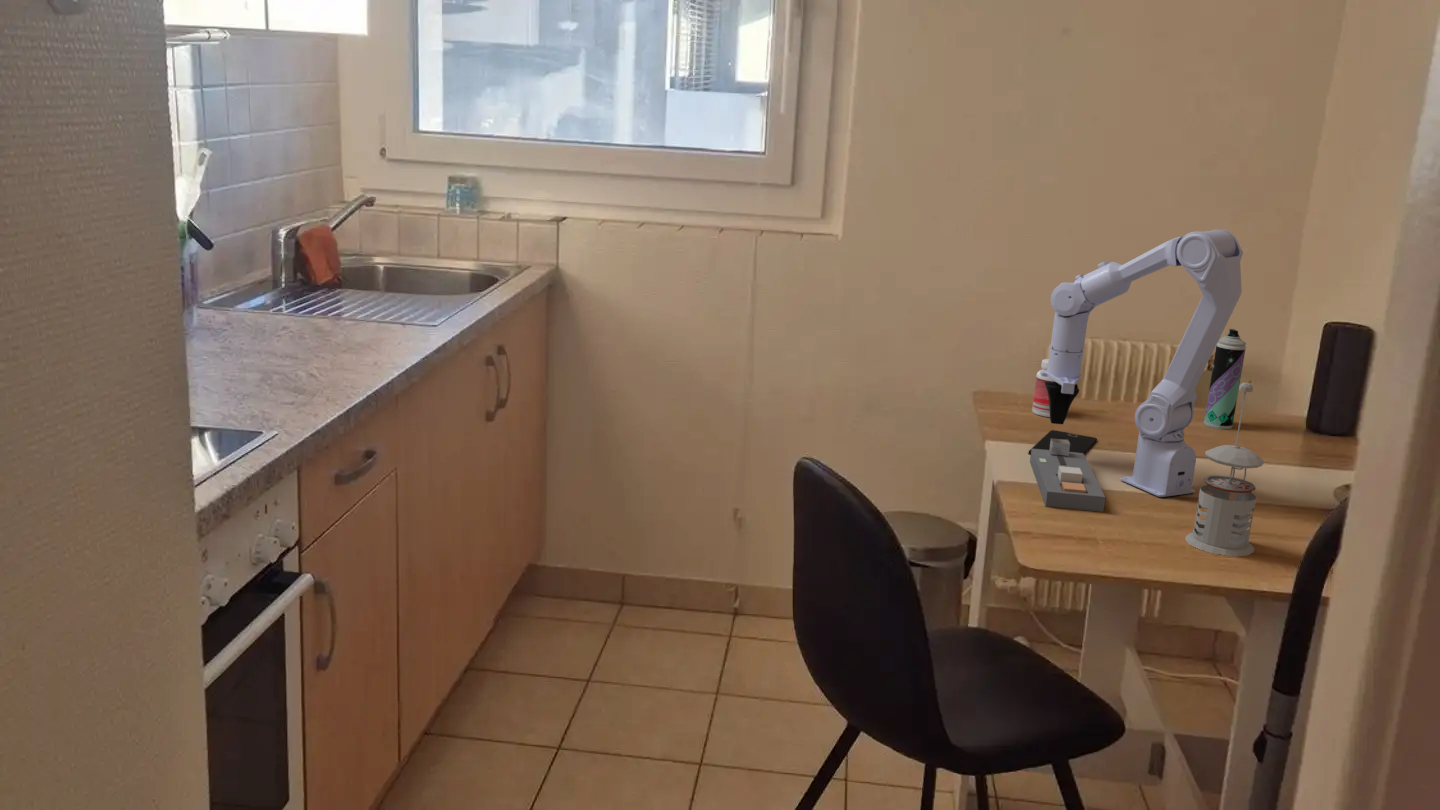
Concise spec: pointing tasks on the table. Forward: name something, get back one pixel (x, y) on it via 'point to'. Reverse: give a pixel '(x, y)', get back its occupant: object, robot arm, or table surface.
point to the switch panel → (1051, 489)
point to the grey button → (1069, 474)
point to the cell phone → (1076, 441)
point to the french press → (1227, 501)
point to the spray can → (1225, 381)
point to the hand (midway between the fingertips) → (1056, 422)
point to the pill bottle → (1041, 393)
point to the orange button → (1073, 487)
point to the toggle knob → (1059, 447)
